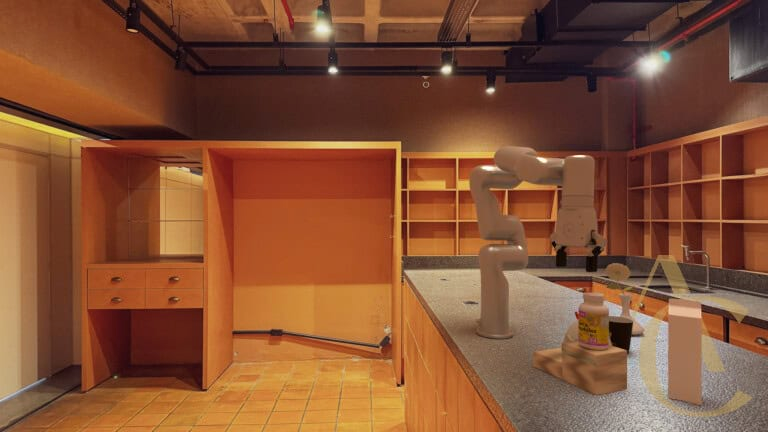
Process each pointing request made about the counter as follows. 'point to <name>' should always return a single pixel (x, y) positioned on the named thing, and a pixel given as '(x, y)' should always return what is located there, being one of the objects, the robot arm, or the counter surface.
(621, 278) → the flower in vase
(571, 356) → the stand
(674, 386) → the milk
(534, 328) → the counter surface
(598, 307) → the supplement bottle
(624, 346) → the coffee mug
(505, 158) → the robot arm
